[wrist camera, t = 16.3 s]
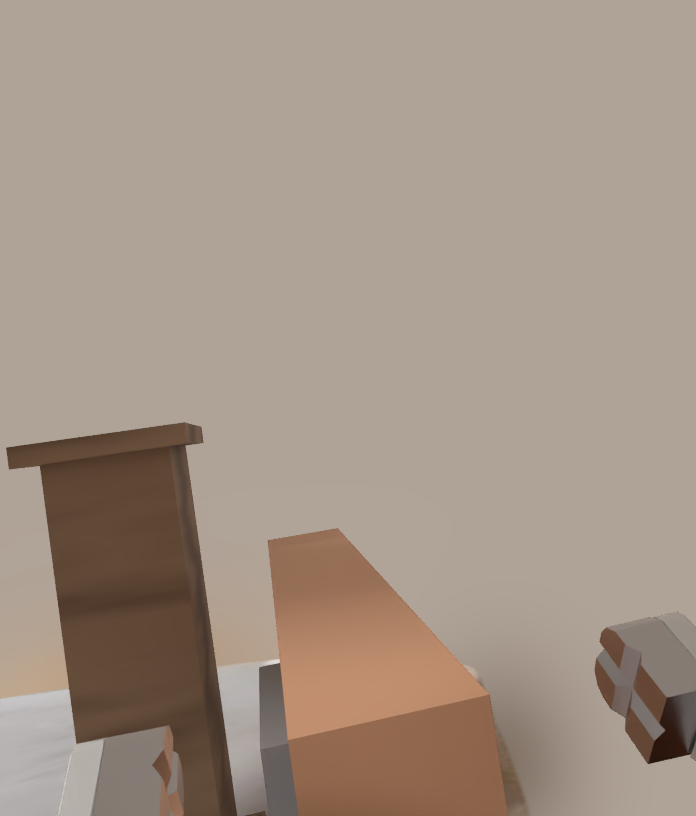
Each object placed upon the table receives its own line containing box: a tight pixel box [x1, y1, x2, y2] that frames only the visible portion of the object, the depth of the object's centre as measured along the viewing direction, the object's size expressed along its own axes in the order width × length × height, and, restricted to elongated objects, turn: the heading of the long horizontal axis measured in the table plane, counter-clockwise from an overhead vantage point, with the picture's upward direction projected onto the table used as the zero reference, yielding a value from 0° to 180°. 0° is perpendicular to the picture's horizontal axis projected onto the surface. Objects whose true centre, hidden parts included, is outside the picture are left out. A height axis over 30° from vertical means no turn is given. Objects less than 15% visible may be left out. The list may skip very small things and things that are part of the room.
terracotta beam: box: [268, 528, 508, 816], centre depth 23 cm, size 23×4×4 cm, turn 9°
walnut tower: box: [6, 423, 266, 816], centre depth 32 cm, size 11×9×26 cm
